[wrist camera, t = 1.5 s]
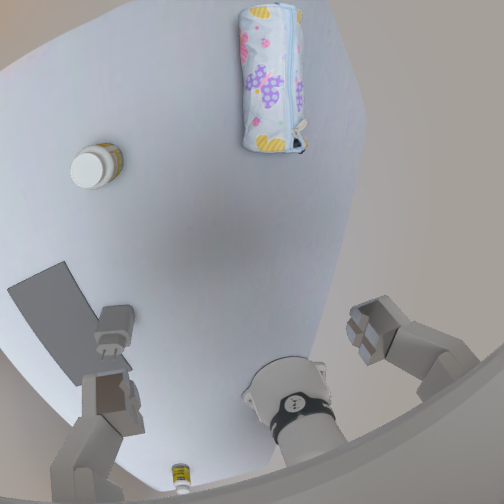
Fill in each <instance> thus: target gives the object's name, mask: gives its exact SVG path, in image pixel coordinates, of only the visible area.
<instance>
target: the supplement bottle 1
mask: <svg viewBox="0 0 504 504" xmlns="http://www.w3.org/2000/svg"><path fill="white" fill-rule="evenodd" d="M122 166H123V156H122V153H121V151H120V150H119V149H118V148H117V147H116V146H115V145H113V144H109V143H103V144H97V145H92V146H88V147H86V148H84V149H82V150H81V151H80V152H79V153H78V154H77V156H76V157H75V159H74V161H73V163H72V165H71V170H70V173H71V177H72V180H73V181H74V183H75V184H76V185H78V186H79V187H82V188H86V189H99V188H101V187H103V186H105V185H106V184H107V183H109V182H110V181H111V180H113V179H114V178H115V177H116V176H117V175H118V174H119V173H120V171H121V169H122Z"/></svg>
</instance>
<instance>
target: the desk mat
mask: <svg viewBox="0 0 504 504" xmlns="http://www.w3.org/2000/svg"><path fill="white" fill-rule="evenodd" d="M7 291H8V293H9V294H10V296H11V298H12V299H13V301H14V302H15V304H16V306H17V307H18V309H19V310H20V312H21V314H22V315H23V317H24V318H25V320H26V321H27V323H28V324H29V326H30V327H31V329H32V330H33V331H34V333H35V334H36V336H37V337H38V339H39V340H40V341H41V343H42V344H43V345H44V347H45V348H46V350H47V351H48V352H49V354H50V355H51V356H52V357H53V359H54V360H55V361H56V363H57V364H58V365H59V366H60V368H61V369H62V370H63V371H64V373H65V374H66V375H67V376H68V377H69V379H70V380H71V381H72V382H73V383H74V385H75V386H80V385H82V379H83V376H84V375H87V374H94V373H100V372H107V371H114V370H120V369H126V371H127V372H129V371H132V368H131V367H130V365H129V364H128V362H127V361H126V360H125V358H124V357H123V355H122V354H119V355H116V357H115V361H114V360H113V358H114V355H104V357H103V361H101V358H102V354H100V353H99V352H97V351H96V349H97V342H96V339H95V336H94V334H95V331H96V328H97V325H98V321H99V320H98V318H97V317H96V315H95V313H94V312H93V310H92V309H91V307H90V305H89V304H88V302H87V300H86V299H85V297H84V295H83V294H82V292H81V290H80V288H79V287H78V285H77V283H76V281H75V280H74V278H73V276H72V274H71V272H70V271H69V269H68V267H67V265H66V263H65V261H63V262H61V263H59V264H57V265H55V266H53V267H51V268H49V269H46V270H44V271H42V272H40V273H38V274H36V275H34V276H32V277H30V278H28V279H26V280H24V281H22V282H20V283H18V284H16V285H14V286H12V287H10V288H8V289H7Z"/></svg>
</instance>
